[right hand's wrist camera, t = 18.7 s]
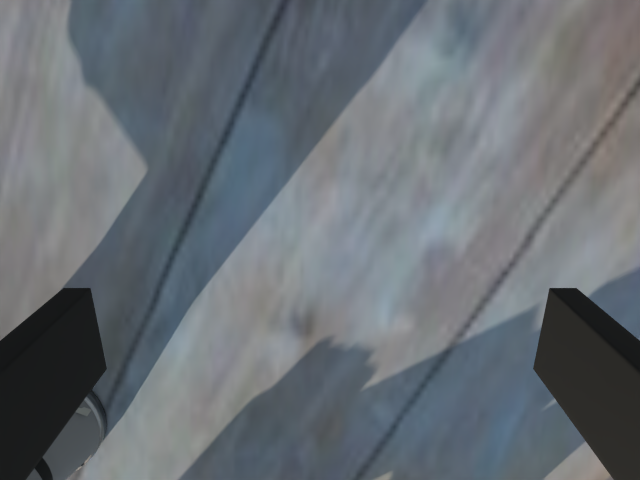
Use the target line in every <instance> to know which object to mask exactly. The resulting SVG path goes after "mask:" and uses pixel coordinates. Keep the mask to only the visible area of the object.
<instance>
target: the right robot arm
mask: <svg viewBox="0 0 640 480" xmlns="http://www.w3.org/2000/svg"><path fill="white" fill-rule="evenodd" d="M106 369H107V368H106V363H105V358H104V353H103V348H102V343H101V338H100V333H99V328H98V323H97V318H96V313H95V308H94V304H93V299H92V294H91V289H90V288H63V289H62V290H61V291H60V292H58V293H57V294H56V295H55V296H54V297H52V298H51V299H50V300H49V301H48V302H46V303H45V304H44V305H43V306H42V307H40V308H39V309H38V310H37V311H36V312H34V313H33V314H32V315H31V316H30V317H28V318H27V319H26V320H25V321H24V322H22V323H21V324H20V325H19V326H18V327H16V328H15V329H14V330H13V331H12V332H10V333H9V334H8V335H7V336H6V337H4V338H3V339H2V340H1V341H0V480H66V479H67V478H68V477H70V476H71V475H72V474H73V473H74V472H75V471H77V470H78V469H80V468H81V467H82V466H84V465H85V464H86V463H87V462H88V461H89V460H90V459H91V458H92V457H93V456H94V454H95V453H96V451H97V449H98V448H99V446H100V444H101V443H102V441H103V439H104V436H105V433H106V427H107V425H106V416H105V412H104V410H103V407H102V405H101V403H100V402H99V400H98V398H97V397H96V396H95V395H94V393H93V392H92V391H91V390H92V388H93V387H94V386H95V384H96V383H97V381H98V380H99V379H100V377H101V376H102V375H103V373H104V372H105V370H106ZM533 369H534V370H535V372H536V373H537V375H538V376H539V377H540V379H541V380H542V381H543V383H544V384H545V386H546V387H547V388H548V390H549V391H550V392H551V394H552V395H553V397H554V398H555V399H556V401H557V402H558V403H559V405H560V406H561V408H562V409H563V410H564V412H565V413H566V414H567V416H568V417H569V419H570V420H571V421H572V423H573V424H574V425H575V427H576V428H577V430H578V431H579V432H580V434H581V435H582V436H583V438H584V439H585V441H586V442H587V443H588V445H589V446H590V447H591V449H592V450H593V452H594V453H595V454H596V456H597V457H598V458H599V460H600V461H601V463H602V464H603V465H604V467H605V468H606V470H607V471H608V472H609V474H610V475H611V476H612V478H613V479H614V480H640V341H639V340H638V339H637V338H636V337H634V336H633V335H632V334H631V333H630V332H628V331H627V330H626V329H625V328H624V327H622V326H621V325H620V324H619V323H618V322H616V321H615V320H614V319H613V318H612V317H610V316H609V315H608V314H607V313H606V312H604V311H603V310H602V309H601V308H600V307H598V306H597V305H596V304H595V303H594V302H592V301H591V300H590V299H589V298H588V297H586V296H585V295H584V294H583V293H582V292H580V291H579V290H578V289H577V288H550V289H549V294H548V299H547V304H546V308H545V313H544V318H543V323H542V328H541V333H540V338H539V343H538V348H537V353H536V358H535V363H534V368H533Z"/></svg>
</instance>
